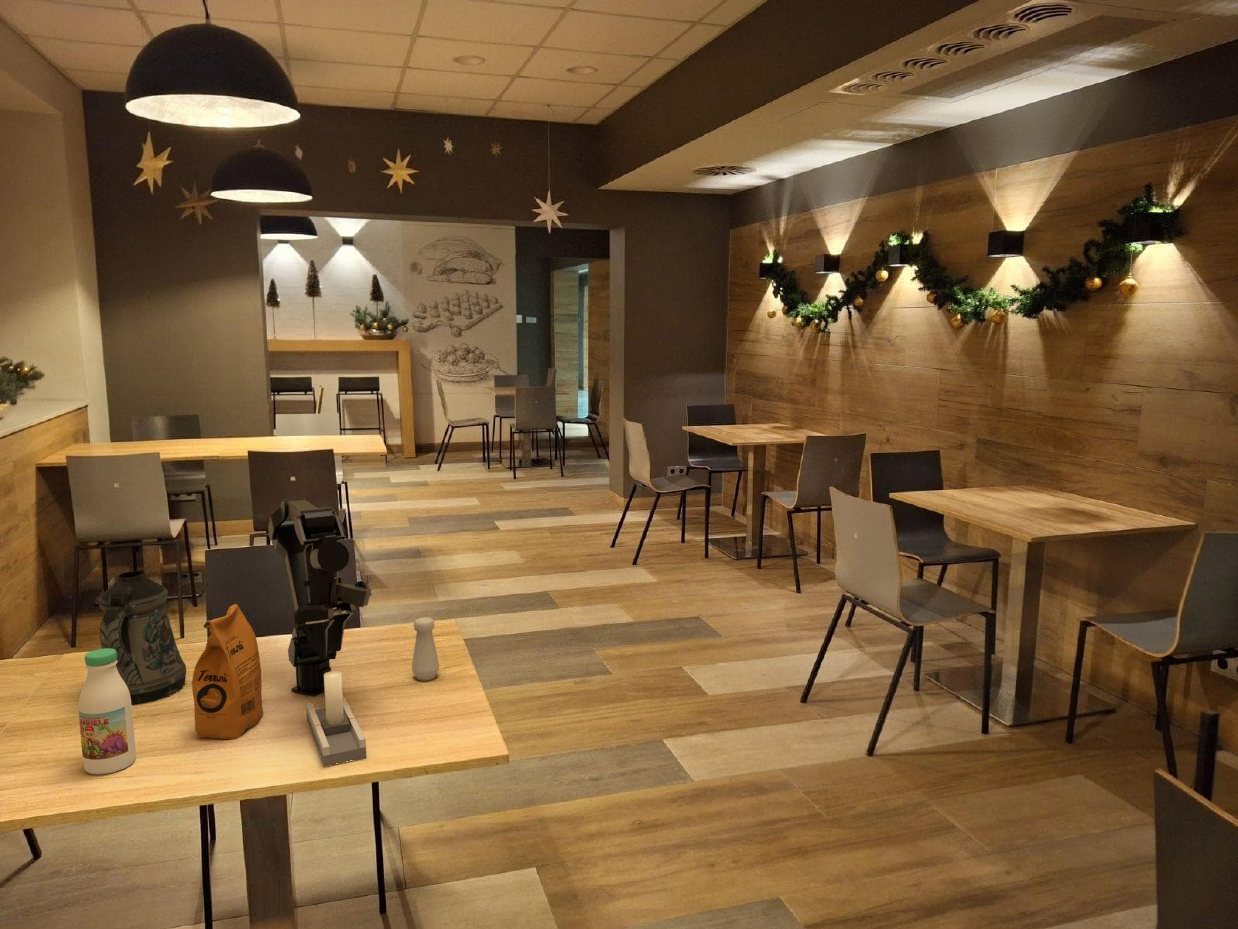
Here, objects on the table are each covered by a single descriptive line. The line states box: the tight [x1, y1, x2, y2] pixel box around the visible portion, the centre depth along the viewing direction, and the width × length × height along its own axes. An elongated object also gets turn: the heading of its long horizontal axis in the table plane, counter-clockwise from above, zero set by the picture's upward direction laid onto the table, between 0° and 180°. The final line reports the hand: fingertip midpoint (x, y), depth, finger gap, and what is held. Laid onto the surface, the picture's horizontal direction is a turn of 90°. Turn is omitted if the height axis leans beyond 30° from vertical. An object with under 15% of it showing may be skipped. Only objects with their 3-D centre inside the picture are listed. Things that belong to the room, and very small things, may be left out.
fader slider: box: [321, 670, 350, 736], centre depth 154 cm, size 4×4×10 cm
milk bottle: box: [78, 648, 137, 775], centre depth 144 cm, size 8×8×20 cm
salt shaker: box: [411, 616, 440, 682], centre depth 183 cm, size 6×6×13 cm
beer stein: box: [97, 570, 187, 706], centre depth 174 cm, size 16×19×25 cm
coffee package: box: [191, 604, 264, 740], centre depth 159 cm, size 10×12×22 cm
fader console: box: [305, 696, 367, 768], centre depth 155 cm, size 20×7×4 cm, turn 28°
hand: (330, 654), depth 163 cm, fingers open, 9 cm apart
